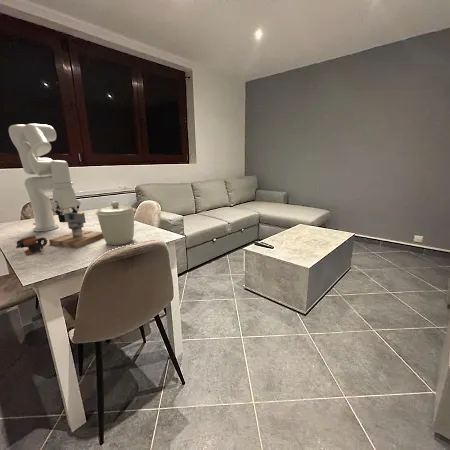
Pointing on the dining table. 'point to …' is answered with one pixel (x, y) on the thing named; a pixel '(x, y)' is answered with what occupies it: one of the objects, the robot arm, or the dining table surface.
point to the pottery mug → (31, 244)
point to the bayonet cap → (75, 219)
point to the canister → (116, 223)
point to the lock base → (76, 238)
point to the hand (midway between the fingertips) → (69, 220)
